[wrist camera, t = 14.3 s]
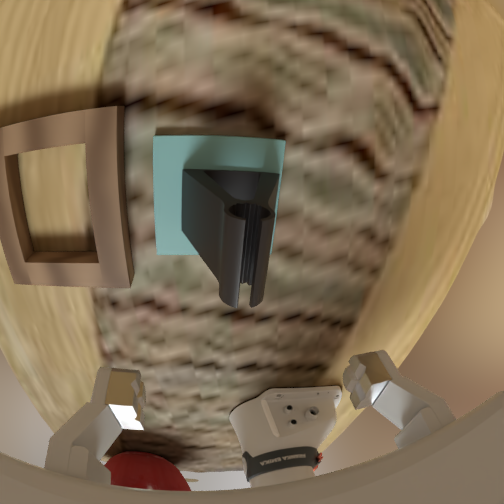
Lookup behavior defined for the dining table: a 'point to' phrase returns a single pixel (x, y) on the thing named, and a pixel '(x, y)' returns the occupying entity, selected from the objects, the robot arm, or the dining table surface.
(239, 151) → the teal mat
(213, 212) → the dark gray a-frame stand
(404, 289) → the dining table surface
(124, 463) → the mixing bowl
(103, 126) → the walnut holder
